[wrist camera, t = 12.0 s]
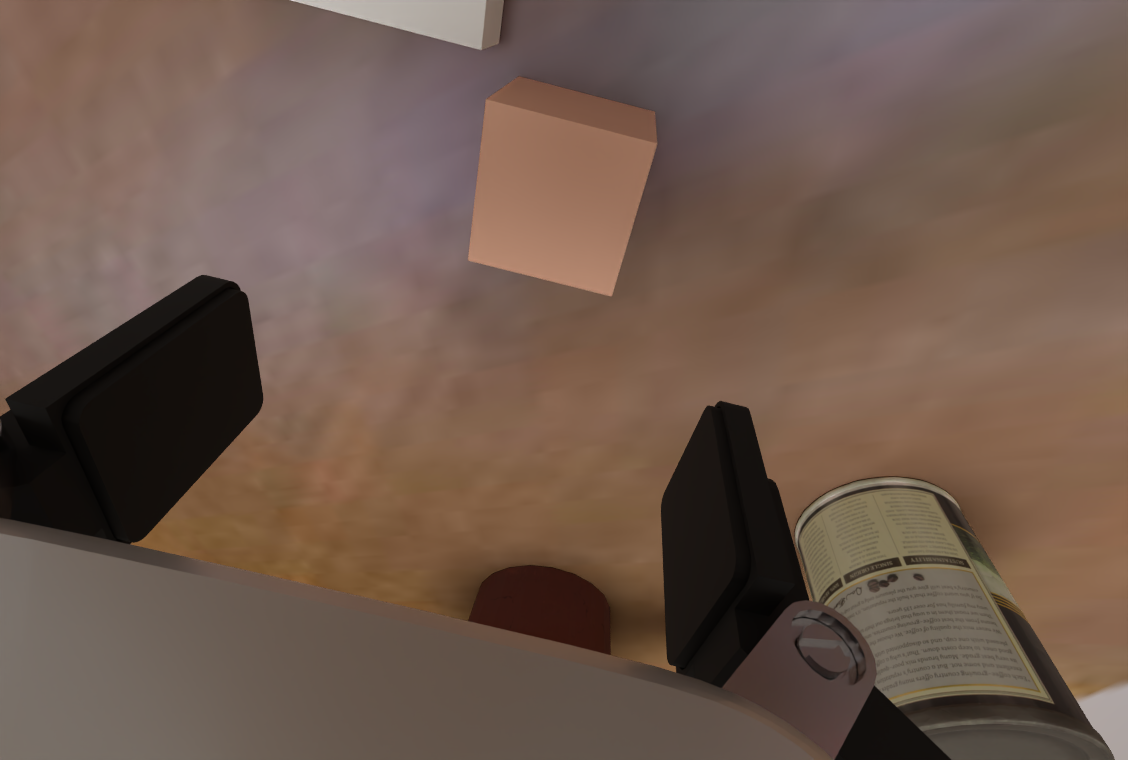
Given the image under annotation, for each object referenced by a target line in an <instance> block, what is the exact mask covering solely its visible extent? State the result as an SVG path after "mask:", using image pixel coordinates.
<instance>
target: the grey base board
mask: <svg viewBox="0 0 1128 760" xmlns="http://www.w3.org/2000/svg"><path fill="white" fill-rule="evenodd" d="M291 1H295V2H299V3H303V4H307V5H311V6H314V7H318V8H322V9H326V10H330V11H333V12H337V13H341V14H345V15H349V16H353V17H356V18H360V19H364V20H368V21H372V22H375V23H379V24H383V25H387V26H391V27H395V28H398V29H402V30H406V31H410V32H414V33H417V34H421V35H425V36H429V37H433V38H437V39H440V40H444V41H448V42H452V43H456V44H459V45H463V46H467V47H471V48H475V49H479V50H483V49H486V48H488V47H491V46H494V45H496V44H499V39H500V30H501V22H502V13H503V5H504V0H291Z"/></svg>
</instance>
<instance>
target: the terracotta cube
mask: <svg viewBox="0 0 1128 760" xmlns="http://www.w3.org/2000/svg"><path fill="white" fill-rule="evenodd" d="M656 147H657V132H656V120H655V112H654V111H650V110H646V109H643V108H639V107H635V106H631V105H627V104H623V103H620V102H616V101H612V100H608V99H604V98H600V97H597V96H593V95H589V94H585V93H581V92H577V91H574V90H570V89H566V88H562V87H558V86H554V85H551V84H547V83H543V82H539V81H535V80H531V79H528V78H524V77H520V76H518V77H517V78H516V79H514V80H513V81H511V82H510V83H508V84H507V85H506V86H504V87H503V88H501V89H500V90H498V91H497V92H496V93H494V94H493V95H491V96H490V97H488V98H487V99H486V103H485V112H484V121H483V130H482V139H481V148H480V157H479V166H478V175H477V184H476V193H475V202H474V211H473V220H472V229H471V238H470V247H469V256H468V261H472V262H476V263H480V264H484V265H488V266H492V267H496V268H500V269H504V270H508V271H512V272H516V273H520V274H524V275H528V276H532V277H536V278H540V279H544V280H548V281H552V282H556V283H560V284H564V285H568V286H572V287H576V288H580V289H584V290H588V291H592V292H596V293H600V294H604V295H608V296H612V294H613V290H614V287H615V284H616V280H617V277H618V274H619V270H620V267H621V264H622V260H623V257H624V254H625V250H626V247H627V244H628V240H629V237H630V234H631V230H632V227H633V224H634V220H635V217H636V214H637V210H638V207H639V204H640V200H641V197H642V194H643V190H644V187H645V184H646V180H647V177H648V174H649V170H650V167H651V164H652V160H653V157H654V154H655V150H656Z"/></svg>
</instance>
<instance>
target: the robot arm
mask: <svg viewBox="0 0 1128 760" xmlns="http://www.w3.org/2000/svg"><path fill="white" fill-rule="evenodd" d="M5 400H6V402H7V403H8V405H9V407H10V409H11V410H10V411H8V412H7V413H5V414H3V415H2V416H0V760H951V759H950V758H949V757H948V756H947V755H946V754H945V753H944V752H943V751H942V750H941V749H940V748H939V747H938V746H937V745H936V744H935V743H934V742H933V741H932V740H931V739H930V738H929V737H928V736H926V735H925V734H924V733H923V732H922V731H921V730H920V729H919V728H918V727H917V726H916V725H915V724H914V723H913V722H912V721H911V720H910V719H909V718H908V717H907V716H906V715H905V714H904V713H903V712H902V711H900V710H899V709H898V708H897V707H896V706H895V705H894V704H893V703H892V702H891V701H890V700H889V699H888V698H887V697H886V696H885V695H884V694H883V693H882V692H881V691H880V690H879V689H878V688H877V687H876V686H875V685H874V684H875V680H876V676H877V670H876V663H875V658H874V656H873V653H872V651H871V649H870V646H869V644H868V643H867V641H866V640H865V638H864V637H863V636H862V634H861V633H860V631H859V630H858V629H857V628H856V627H855V626H854V625H853V624H852V623H851V622H850V621H849V620H848V619H847V618H846V617H844V616H843V615H841V614H840V613H839V612H837V611H836V610H834V609H833V608H831V607H828V606H826V605H824V604H821V603H819V602H813V601H809V597H808V594H807V590H806V587H805V583H804V580H803V576H802V572H801V569H800V565H799V562H798V558H797V555H796V551H795V547H794V544H793V540H792V537H791V533H790V529H789V526H788V522H787V519H786V515H785V512H784V508H783V504H782V501H781V497H780V494H779V490H778V488H777V485H776V483H775V482H774V481H773V480H771V479H768V478H767V475H766V471H765V467H764V463H763V459H762V456H761V452H760V448H759V444H758V440H757V437H756V433H755V429H754V425H753V421H752V418H751V414H750V411H749V409H748V408H747V407H743V406H739V405H735V404H731V403H727V402H723V401H719V402H718V403H717V404H716V405H715V407H713V406H707V407H706V408H705V410H704V412H703V414H702V416H701V418H700V420H699V422H698V424H697V426H696V428H695V430H694V432H693V434H692V436H691V439H690V441H689V443H688V445H687V447H686V449H685V451H684V453H683V455H682V457H681V459H680V461H679V463H678V465H677V467H676V470H675V472H674V474H673V476H672V478H671V480H670V482H669V484H668V486H667V488H666V490H665V492H664V495H663V498H662V504H661V523H662V547H663V572H664V597H665V622H666V647H667V660H668V663H669V664H670V665H673V666H676V673H675V672H672V671H669V670H665V669H662V668H659V667H655V666H651V665H647V664H644V663H640V662H636V661H632V660H628V659H624V658H620V657H616V656H612V655H608V654H604V653H600V652H596V651H592V650H588V649H584V648H580V647H576V646H572V645H568V644H564V643H559V642H555V641H551V640H547V639H542V638H538V637H534V636H529V635H525V634H521V633H517V632H512V631H508V630H504V629H499V628H495V627H491V626H487V625H482V624H478V623H474V622H469V621H465V620H461V619H457V618H452V617H448V616H444V615H439V614H435V613H431V612H427V611H422V610H418V609H413V608H409V607H405V606H400V605H396V604H392V603H387V602H383V601H378V600H374V599H370V598H365V597H361V596H357V595H352V594H348V593H344V592H339V591H335V590H330V589H326V588H322V587H317V586H313V585H308V584H304V583H299V582H295V581H291V580H286V579H282V578H277V577H273V576H269V575H264V574H260V573H255V572H251V571H247V570H242V569H238V568H233V567H229V566H224V565H220V564H215V563H211V562H206V561H202V560H197V559H193V558H188V557H184V556H179V555H175V554H170V553H166V552H161V551H157V550H152V549H148V548H143V547H139V546H134V545H130V544H131V543H132V542H133V543H134V542H138V541H140V540H142V539H143V538H144V537H145V536H146V535H147V534H148V533H149V532H150V531H151V530H152V529H153V528H154V527H155V526H156V525H157V523H158V522H159V521H160V520H161V519H162V518H163V517H164V516H165V515H166V514H167V513H168V511H169V510H170V509H171V508H172V507H173V506H174V505H175V504H176V503H177V502H178V500H179V499H180V498H181V497H182V496H183V495H184V494H185V493H186V492H187V491H188V490H189V488H190V487H191V486H192V485H193V484H194V483H195V482H196V481H197V480H198V479H199V478H200V476H201V475H202V474H203V473H204V472H205V471H206V470H207V469H208V468H209V467H210V466H211V464H212V463H213V462H214V461H215V460H216V459H217V458H218V457H219V456H220V455H221V453H222V452H223V451H224V450H225V449H226V448H227V447H228V446H229V445H230V444H231V443H232V441H233V440H234V439H235V438H236V437H237V436H238V435H239V434H240V433H241V432H242V431H243V429H244V428H245V427H246V426H247V425H248V424H249V423H250V422H251V421H252V420H253V418H254V417H255V416H256V415H257V414H258V413H259V411H260V409H261V407H262V404H263V392H262V385H261V379H260V372H259V366H258V360H257V353H256V347H255V340H254V334H253V328H252V321H251V315H250V308H249V302H248V298H247V295H246V294H245V293H244V292H242V291H241V290H240V287H239V286H238V285H237V284H236V283H235V282H232V281H228V280H224V279H220V278H216V277H212V276H207V275H201V276H198V277H196V278H195V279H193V280H192V281H190V282H188V283H187V284H185V285H184V286H182V287H181V288H179V289H177V290H176V291H174V292H173V293H171V294H170V295H168V296H166V297H165V298H163V299H162V300H160V301H159V302H157V303H155V304H154V305H152V306H151V307H149V308H148V309H146V310H144V311H143V312H141V313H140V314H138V315H137V316H135V317H133V318H132V319H130V320H129V321H127V322H125V323H124V324H122V325H121V326H119V327H118V328H116V329H114V330H113V331H111V332H110V333H108V334H107V335H105V336H103V337H102V338H100V339H99V340H97V341H96V342H94V343H92V344H91V345H89V346H88V347H86V348H85V349H83V350H81V351H80V352H78V353H77V354H75V355H74V356H72V357H70V358H69V359H67V360H66V361H64V362H62V363H61V364H59V365H58V366H56V367H55V368H53V369H51V370H50V371H48V372H47V373H45V374H44V375H42V376H40V377H39V378H37V379H36V380H34V381H33V382H31V383H29V384H28V385H26V386H25V387H23V388H22V389H20V390H18V391H17V392H15V393H14V394H12V395H11V396H9V397H7V398H6V399H5Z"/></svg>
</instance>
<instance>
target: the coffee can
mask: <svg viewBox="0 0 1128 760" xmlns="http://www.w3.org/2000/svg"><path fill="white" fill-rule="evenodd" d="M795 542H796V546H797V548H798V550H799V552H800V556H801V559H802V563H803V566H804V570H805V574H806V577H807V581H808V585H809V588H810V592H811V596H812V599H813V602H819V603H821V604H824V605H826V606H828V607H831V608H833V609H834V610H836V611H837V612H839V613H840V614H841V615H843V616H844V617H846V618H847V619H848V620H849V621H850V622H851V623H852V624H853V625H854V626H855V627H856V628H857V629H858V630H859V631H860V633H861V634H862V636H863V637H864V638H865V640H866V641H867V643H868V644H869V646H870V649H871V651H872V653H873V656H874V658H875V663H876V670H877V676H876V680H875V684H874V685H875V686H876V687H877V688H878V689H879V690H880V691H881V692H882V693H883V694H884V695H885V696H886V697H887V698H888V699H889V700H890V701H891V702H892V703H893V704H894V705H895V706H896V707H897V708H898V709H899V710H900V711H902V712H903V713H904V714H905V715H906V716H907V717H908V718H909V719H910V720H911V721H912V722H913V723H914V724H915V725H916V726H917V727H918V728H919V729H920V730H921V731H922V732H923V733H924V734H925V735H926V736H928V737H929V738H930V739H931V740H932V741H933V742H934V743H935V744H936V745H937V746H938V747H939V748H940V749H941V750H942V751H943V752H944V753H945V754H946V755H947V756H948V757H949V758H950V759H951V760H1115V759H1114V756H1113V754H1112V752H1111V750H1110V749H1109V747H1108V746H1107V744H1106V743H1105V741H1104V740H1103V738H1102V737H1101V735H1100V734H1099V733H1098V732H1097V731H1096V730H1095V729H1093V727H1092V726H1091V724H1090V722H1089V721H1088V719H1087V718H1086V716H1085V714H1084V713H1083V711H1082V710H1081V708H1080V706H1079V704H1078V703H1077V701H1076V699H1075V698H1074V696H1073V695H1072V693H1071V691H1070V690H1069V688H1068V686H1067V685H1066V683H1065V682H1064V680H1063V678H1062V677H1061V675H1060V674H1059V672H1058V670H1057V668H1056V667H1055V665H1054V664H1053V662H1052V660H1051V659H1050V657H1049V655H1048V654H1047V652H1046V650H1045V649H1044V647H1043V645H1042V644H1041V642H1040V640H1039V639H1038V637H1037V636H1036V634H1035V632H1034V631H1033V629H1032V627H1031V626H1030V624H1029V623H1028V621H1027V619H1026V618H1025V616H1024V614H1023V613H1022V611H1021V609H1020V608H1019V606H1018V605H1017V603H1016V601H1015V600H1014V598H1013V596H1012V595H1011V593H1010V591H1009V590H1008V588H1007V586H1006V585H1005V583H1004V582H1003V580H1002V578H1001V577H1000V575H999V573H998V572H997V570H996V568H995V567H994V565H993V564H992V562H991V560H990V559H989V557H988V555H987V554H986V552H985V550H984V549H983V547H982V545H981V544H980V542H979V540H978V539H977V537H976V535H975V534H974V532H973V530H972V529H971V527H970V526H969V524H968V522H967V520H966V519H965V517H964V516H963V514H962V512H961V509H960V506H959V505H958V503H957V502H956V500H955V499H954V498H953V497H952V496H951V495H950V494H948V493H947V492H946V491H944V490H943V489H941V488H939V487H937V486H935V485H933V484H930V483H928V482H925V481H921V480H916V479H911V478H902V477H882V478H872V479H866V480H860V481H856V482H852V483H850V484H848V485H845V486H841V487H839V488H836V489H834V490H832V491H830V492H828V493H826V494H825V495H823V496H821V497H820V498H819V499H817V500H816V501H815V502H813V503H812V504H811V505H810V506H809V507H808V508H807V509H806V510H805V511H804V512H803V514H802V516H801V518H800V519H799V521H798V523H797V526H796V529H795Z"/></svg>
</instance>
